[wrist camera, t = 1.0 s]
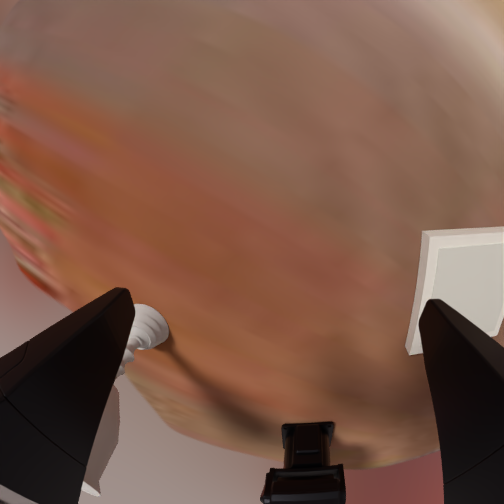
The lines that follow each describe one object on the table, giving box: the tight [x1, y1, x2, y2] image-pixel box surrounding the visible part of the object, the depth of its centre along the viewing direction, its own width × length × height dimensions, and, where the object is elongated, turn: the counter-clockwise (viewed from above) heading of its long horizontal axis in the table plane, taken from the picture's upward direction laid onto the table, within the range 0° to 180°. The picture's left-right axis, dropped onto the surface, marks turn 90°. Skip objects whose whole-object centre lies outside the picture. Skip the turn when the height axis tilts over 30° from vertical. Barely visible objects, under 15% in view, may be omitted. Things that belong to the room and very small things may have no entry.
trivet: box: [405, 227, 504, 355], centre depth 21 cm, size 12×12×2 cm
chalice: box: [81, 304, 169, 497], centre depth 19 cm, size 7×7×18 cm
